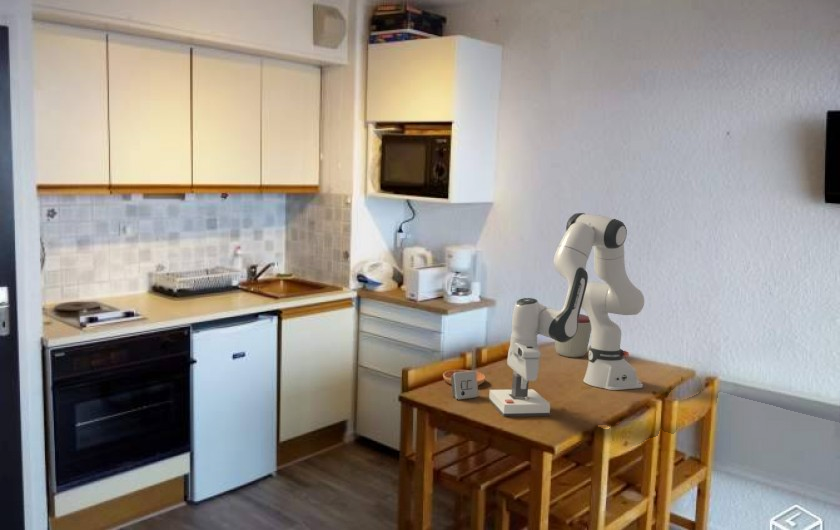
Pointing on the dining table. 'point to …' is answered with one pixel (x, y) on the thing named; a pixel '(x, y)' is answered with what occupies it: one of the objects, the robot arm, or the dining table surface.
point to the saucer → (448, 373)
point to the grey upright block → (518, 386)
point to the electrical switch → (464, 385)
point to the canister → (576, 340)
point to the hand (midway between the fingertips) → (520, 386)
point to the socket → (519, 403)
